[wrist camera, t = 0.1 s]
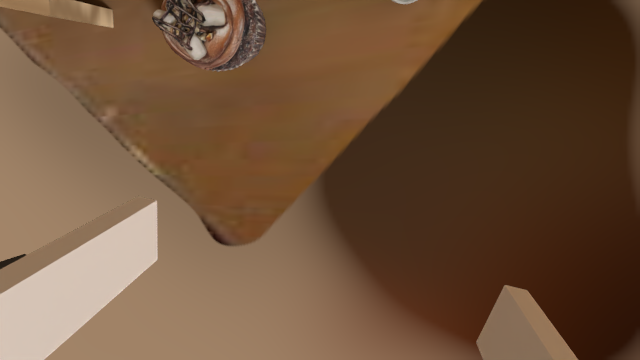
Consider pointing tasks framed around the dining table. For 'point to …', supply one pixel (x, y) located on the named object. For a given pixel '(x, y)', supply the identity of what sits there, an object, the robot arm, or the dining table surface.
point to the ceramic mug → (404, 1)
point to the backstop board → (64, 10)
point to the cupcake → (212, 31)
